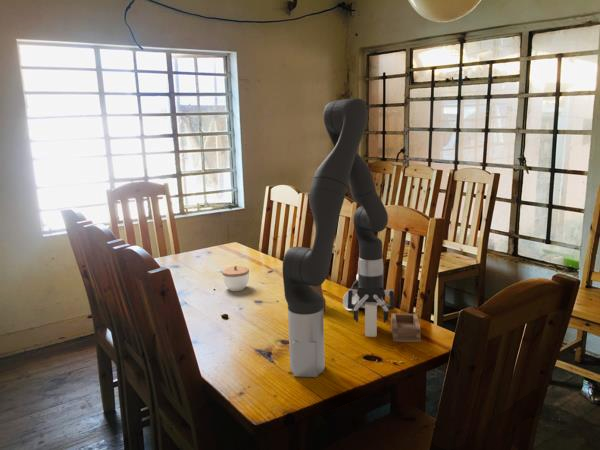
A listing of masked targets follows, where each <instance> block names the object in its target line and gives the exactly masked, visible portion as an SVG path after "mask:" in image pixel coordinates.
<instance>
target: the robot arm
mask: <svg viewBox="0 0 600 450" xmlns="http://www.w3.org/2000/svg"><path fill="white" fill-rule="evenodd" d="M322 115H323V118H322V119H323V124H324V126H325V130H326V132H327V134H328V136H329V138H330V141H331V143H332V144H333V148H332V150H331V151H330V153H328V155H327V156H326V157H325V158H324V160H323V161H322V162H321V164H320V165H319V166H318V168H317V169H316V170H315V172H314V175H313V178H312V182H311V186H310V190H309V194H308V202H309V207H310V211H311V214H312V217H313V221H314V226H315V233H314V240H313V244H312V247H303V246H292V247H290V248H288V249H287V251H286V252H285V254H284V256H283V260H282V279H283V289H284V292H283V293H284V298H285V301H286V303H287V316H288V317H287V319H288V320H287V321H288V322H287V323H288V341H289V342H288V344H289V346H288V347H289V369H290V371H291V373H292V374H293V377H300V378H301V377H303V378H317V377H318V376H319V375H320V374H322V373H323V372H324V371H325V367H326V366H325V364H326V363H325V361H326V360H325V332H324V331H325V328H324V326H325V325H324V312H323V298H322V296H321V295H320V294H318V293H317V292H316V291H314V290H313V289H312V288H311V287H310V285H311V286H320V285H321V286H322V285H323V284H324V282H325V281H326V279H327V276H329V275H328V274H329V272H330V271H329V270H330V267H331V260H332V255H333V250H334V243H335V239H336V238H335V237H336V233H337V227H338V222H339V219H340V214H341V211H342V208H343V204H344V201H345V197H346V193H347V189H348V186H349V189H350V193H351V196H352V198H353V201H354V202H355V203H356V204H358V205H360V206H359V207H357V208H356V210H355V211H354V214H353V226H354V230H355V235H356V239H357V241H358V264H357V267H358V268H357V272H358V273H357V274H358V289H357V290H354V289H352V287H350V288H348V291H347V292H348V309H352V310H353V320H354V321H355V322H356V323H358V322H359V309H358V308H359V307H360V306H361V305H362V304H363V303H365V302H377V303H379V305H378V306H380V307H381V308H382V309H383V312H382V313H383V316H382V317H383V323H387V322H388V321H389V311H390V310H391V311H394V309H395V293H394V289H393V288H389V289H384V260H383V241H382V239H381V238H379V237H378V236H376V235H375V234H374V233H375V232H376V233H378V232H379V233H380V232H383V231H384V230H385V229H386V227H387V225H388V223H389V216H388V211H387V208H386V207H385V205H384V203H383V201H382V200H381V197H380V196H379V194H378V192H377V191H376V186H375V181H374V179H373V177H374V176H373V174H372V171H371V170H370V167H369V166H368V164H367V163H366V162H365V161H364V159H363V158H362V156H360V154H359V153H358V149H359V146H360V144H361V141H362V138H363V136H364V133H365V131H366V128H367V123H368V117H369V111H368V106H367V104H366V102H365V100H363V99H362V98H359V97H358V98H357V97H352V98H345V99H339V100H338V99H337V100H332V101H330V102H328V103H327V104H326V105H325V107H324V110H323V114H322ZM355 294H357V295H358V296H359V297H360V298H359V299H358V300H357V302H356V303H355V304H352V297H354V296H355ZM385 295H386V297H387V298H389V304H387V303H386V301H385V300H384V298H383V297H384V296H385Z"/></svg>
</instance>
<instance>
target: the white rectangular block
mask: <svg viewBox="0 0 600 450" xmlns="http://www.w3.org/2000/svg"><path fill="white" fill-rule="evenodd" d="M377 324H378V307H377V302H365V310H364V336H365V337H368V338H370V337H371V338H372V337H373V338H376V337H378V335H377V334H378V332H377V331H378V325H377Z"/></svg>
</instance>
